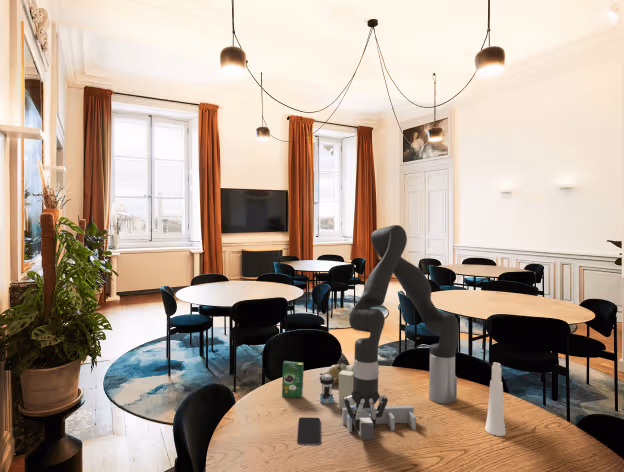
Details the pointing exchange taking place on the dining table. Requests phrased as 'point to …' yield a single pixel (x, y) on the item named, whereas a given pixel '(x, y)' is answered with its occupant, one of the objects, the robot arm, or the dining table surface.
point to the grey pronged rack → (385, 416)
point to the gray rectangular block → (365, 425)
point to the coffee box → (292, 379)
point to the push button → (326, 389)
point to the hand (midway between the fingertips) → (364, 429)
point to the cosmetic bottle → (495, 404)
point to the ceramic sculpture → (338, 371)
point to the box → (345, 387)
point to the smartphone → (309, 431)
